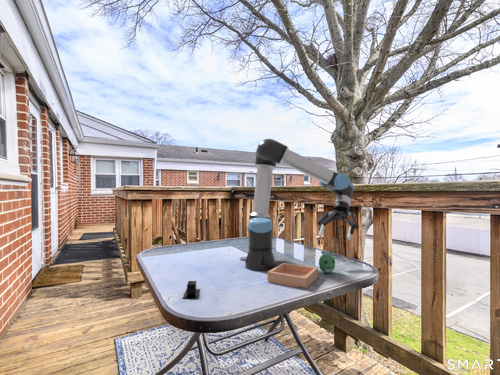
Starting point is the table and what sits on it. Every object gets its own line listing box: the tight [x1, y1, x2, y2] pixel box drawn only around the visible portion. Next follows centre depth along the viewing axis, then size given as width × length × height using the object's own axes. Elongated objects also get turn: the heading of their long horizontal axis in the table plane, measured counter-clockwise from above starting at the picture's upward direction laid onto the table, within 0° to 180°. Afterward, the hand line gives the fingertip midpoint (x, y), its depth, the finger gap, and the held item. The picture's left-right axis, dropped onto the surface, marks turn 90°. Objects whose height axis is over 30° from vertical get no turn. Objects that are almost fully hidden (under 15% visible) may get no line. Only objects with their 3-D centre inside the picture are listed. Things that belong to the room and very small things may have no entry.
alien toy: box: [318, 249, 336, 274], centre depth 113 cm, size 7×8×10 cm
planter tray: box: [266, 262, 319, 290], centre depth 104 cm, size 16×16×4 cm
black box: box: [182, 280, 201, 300], centre depth 89 cm, size 12×7×5 cm, turn 7°
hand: (333, 237), depth 121 cm, fingers open, 13 cm apart
